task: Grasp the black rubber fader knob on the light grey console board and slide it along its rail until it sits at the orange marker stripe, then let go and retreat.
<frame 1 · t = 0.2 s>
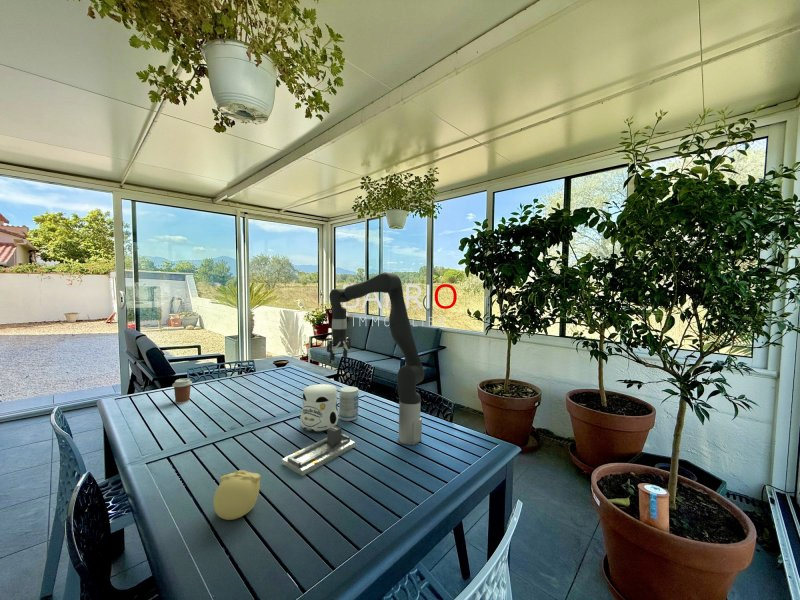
hand: (338, 359, 162), 29 cm above the table, fingers open, 8 cm apart
coffee cup: (182, 401, 175), on the table
milk container: (319, 427, 148), on the table
supplement tub: (348, 418, 159), on the table
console: (320, 454, 123), on the table
fader knob: (334, 435, 128), point 5 cm above the table, slide at 0.0 cm
yellow rounded piece: (237, 511, 92), on the table
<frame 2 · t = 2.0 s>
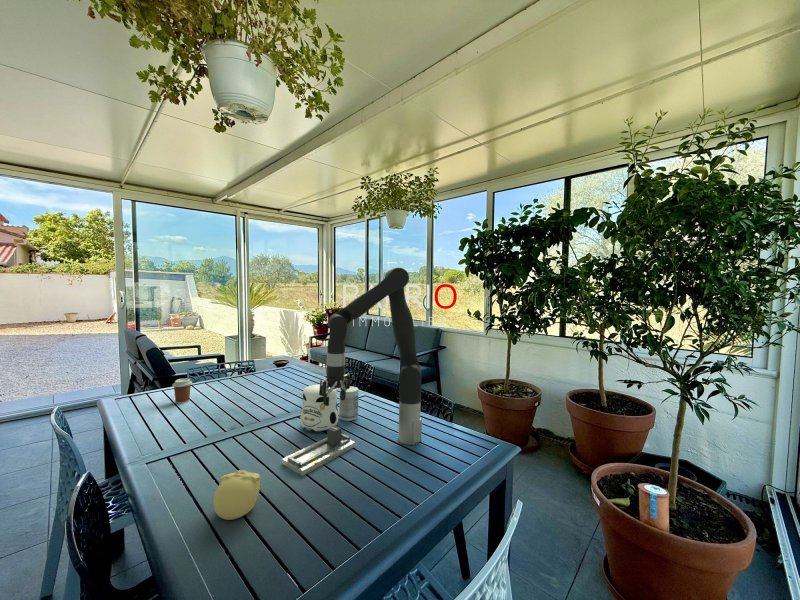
hand: (334, 402, 128), 19 cm above the table, fingers open, 8 cm apart
nothing on the table moved.
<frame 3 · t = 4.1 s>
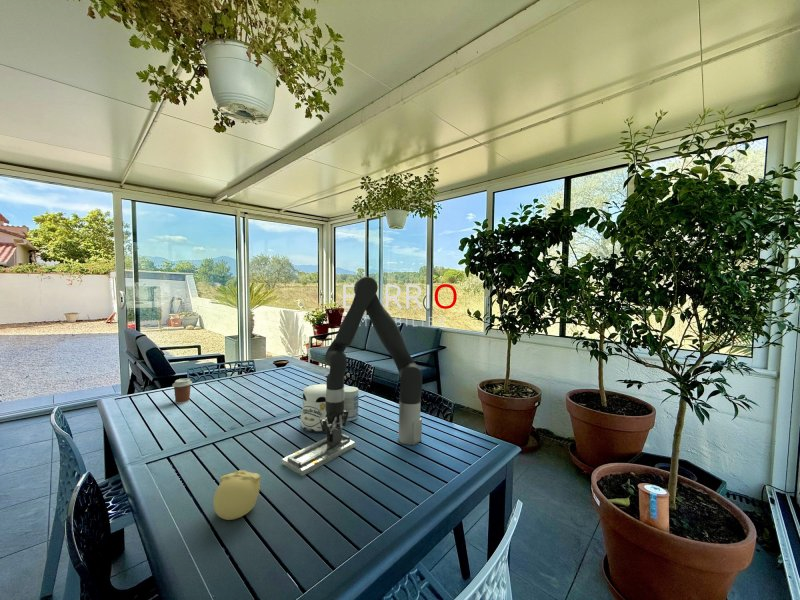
hand: (334, 439, 128), 3 cm above the table, fingers closed on fader knob, 4 cm apart
fader knob: (334, 435, 128), point 5 cm above the table, slide at 0.0 cm, touching gripper
everything else where it was.
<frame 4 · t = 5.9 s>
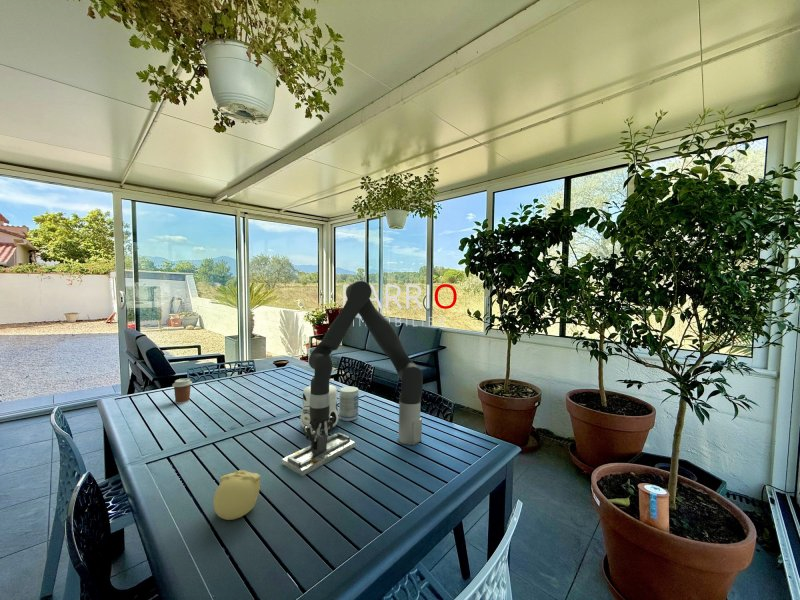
hand: (319, 447, 122), 3 cm above the table, fingers closed on fader knob, 4 cm apart
fader knob: (319, 442, 122), point 5 cm above the table, slide at 7.8 cm, touching gripper
everything else where it was.
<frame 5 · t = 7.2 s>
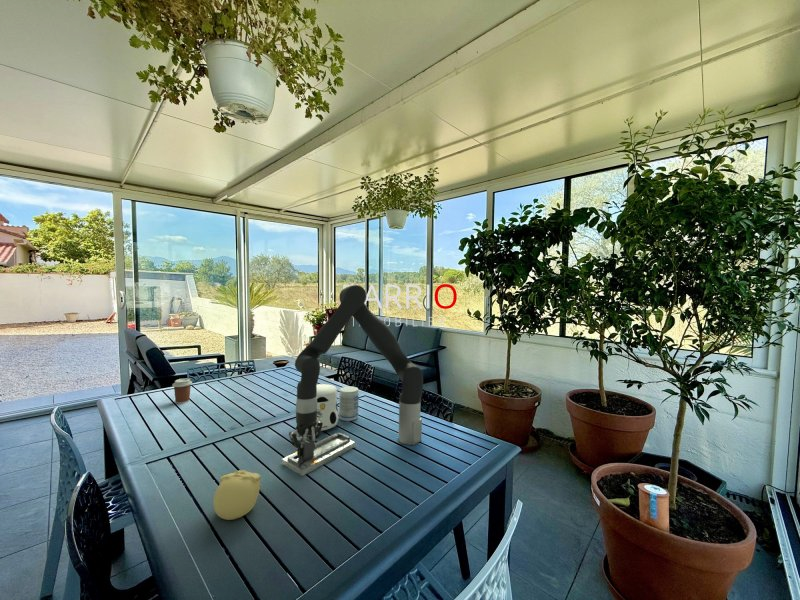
hand: (306, 453, 117), 3 cm above the table, fingers closed on fader knob, 4 cm apart
fader knob: (306, 449, 117), point 5 cm above the table, slide at 14.0 cm, touching gripper
everything else where it was.
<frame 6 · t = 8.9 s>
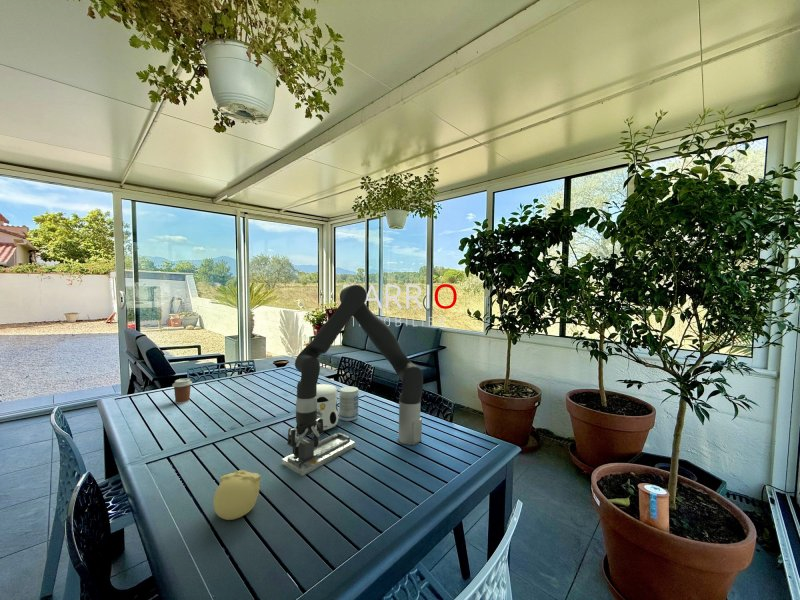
hand: (306, 450, 117), 4 cm above the table, fingers open, 8 cm apart
fader knob: (306, 449, 117), point 5 cm above the table, slide at 14.0 cm
everything else where it was.
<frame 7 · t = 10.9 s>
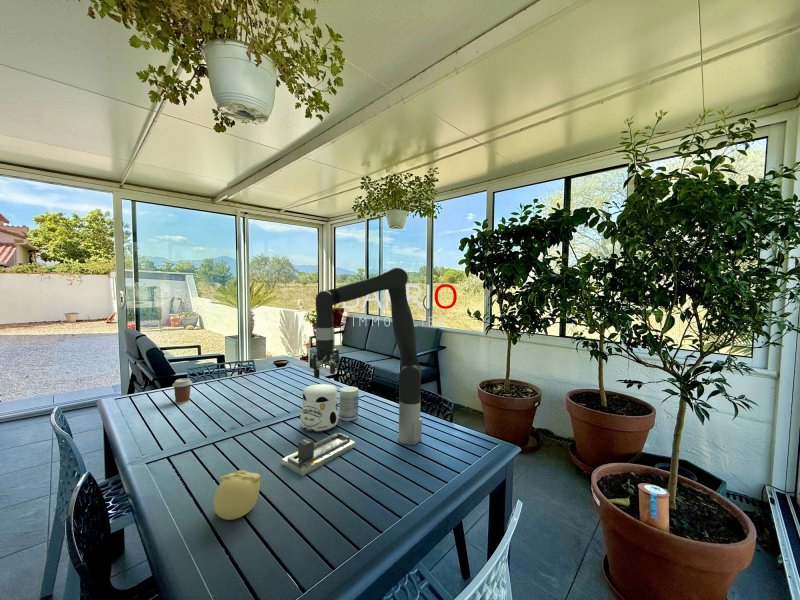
hand: (324, 375, 133), 28 cm above the table, fingers open, 8 cm apart
nothing on the table moved.
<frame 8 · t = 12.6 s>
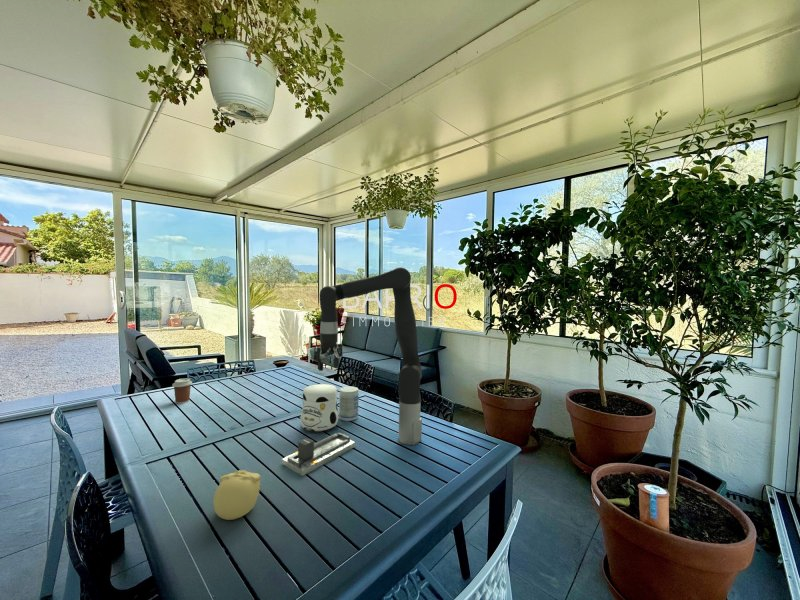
hand: (328, 368, 137), 30 cm above the table, fingers open, 8 cm apart
nothing on the table moved.
at the end: fader knob slide at 14.0 cm; the gripper is holding nothing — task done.
